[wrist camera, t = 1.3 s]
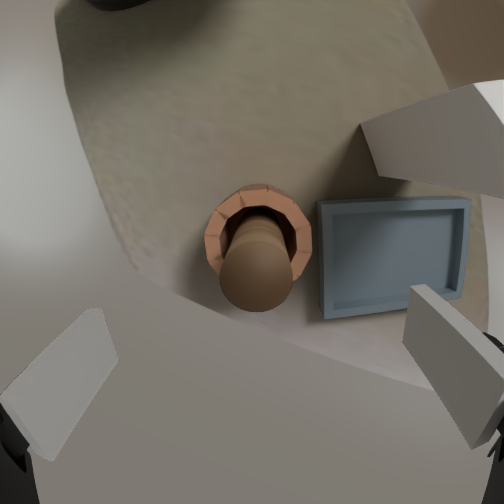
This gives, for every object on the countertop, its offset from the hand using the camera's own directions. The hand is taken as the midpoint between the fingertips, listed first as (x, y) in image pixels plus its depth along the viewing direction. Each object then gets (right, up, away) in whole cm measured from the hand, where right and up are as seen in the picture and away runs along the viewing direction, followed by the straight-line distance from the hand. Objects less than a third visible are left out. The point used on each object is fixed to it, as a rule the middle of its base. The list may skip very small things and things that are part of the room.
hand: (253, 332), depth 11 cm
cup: (+1, +6, +19) cm, 20 cm away
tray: (+16, +3, +19) cm, 25 cm away
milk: (+15, +15, +16) cm, 26 cm away
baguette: (+1, +6, +18) cm, 19 cm away
